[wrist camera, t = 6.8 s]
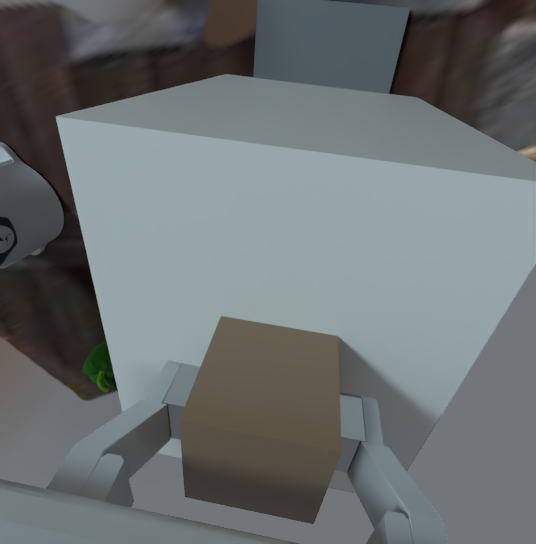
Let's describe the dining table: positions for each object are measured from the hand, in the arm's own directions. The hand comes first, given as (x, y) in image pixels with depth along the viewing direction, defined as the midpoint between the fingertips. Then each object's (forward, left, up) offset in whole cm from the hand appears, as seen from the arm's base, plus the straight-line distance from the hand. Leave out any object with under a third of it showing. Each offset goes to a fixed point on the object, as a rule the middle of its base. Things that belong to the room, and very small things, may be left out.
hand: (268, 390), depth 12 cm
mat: (0, +5, -39) cm, 40 cm away
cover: (0, 0, -19) cm, 19 cm away
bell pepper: (-33, -45, -40) cm, 68 cm away
